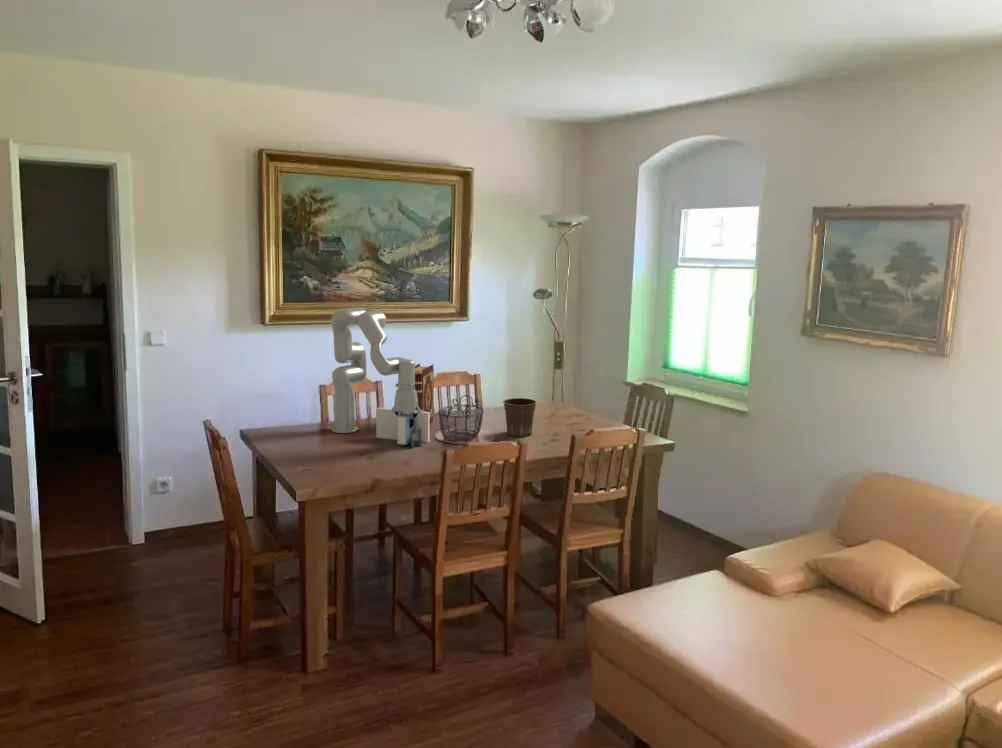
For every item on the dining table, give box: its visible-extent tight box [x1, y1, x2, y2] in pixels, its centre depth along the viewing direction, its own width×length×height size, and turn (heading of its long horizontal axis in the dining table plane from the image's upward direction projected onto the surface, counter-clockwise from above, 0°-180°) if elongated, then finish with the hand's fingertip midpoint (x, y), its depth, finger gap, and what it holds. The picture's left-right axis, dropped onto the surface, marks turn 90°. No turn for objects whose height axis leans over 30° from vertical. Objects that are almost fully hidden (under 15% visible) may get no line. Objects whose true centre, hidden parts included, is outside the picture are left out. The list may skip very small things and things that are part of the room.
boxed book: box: [396, 412, 416, 445], centre depth 351 cm, size 4×11×13 cm, turn 164°
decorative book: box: [415, 363, 435, 424], centre depth 385 cm, size 22×8×30 cm, turn 168°
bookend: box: [397, 429, 423, 449], centre depth 351 cm, size 10×10×6 cm
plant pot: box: [502, 397, 538, 437], centre depth 375 cm, size 16×16×16 cm
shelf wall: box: [375, 407, 431, 444], centre depth 359 cm, size 26×3×14 cm, turn 74°
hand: (406, 426), depth 350 cm, fingers closed on boxed book, 4 cm apart
